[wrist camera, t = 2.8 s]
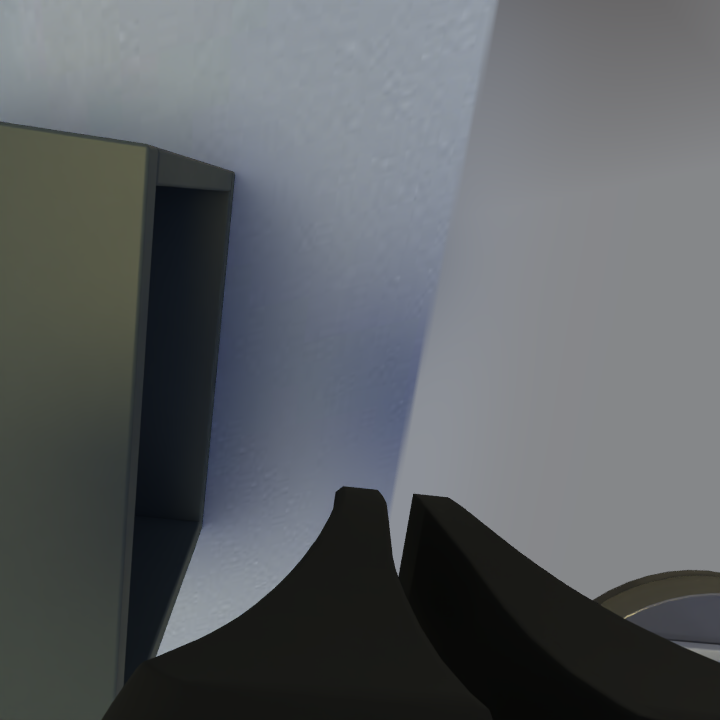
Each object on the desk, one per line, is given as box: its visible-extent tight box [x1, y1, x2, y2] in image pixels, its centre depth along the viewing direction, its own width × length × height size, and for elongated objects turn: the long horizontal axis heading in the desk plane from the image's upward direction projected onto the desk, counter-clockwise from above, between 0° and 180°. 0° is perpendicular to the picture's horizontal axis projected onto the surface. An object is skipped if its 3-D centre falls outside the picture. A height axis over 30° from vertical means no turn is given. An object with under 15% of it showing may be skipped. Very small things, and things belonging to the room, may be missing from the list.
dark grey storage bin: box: [0, 122, 235, 720], centre depth 15 cm, size 8×12×10 cm, turn 172°
